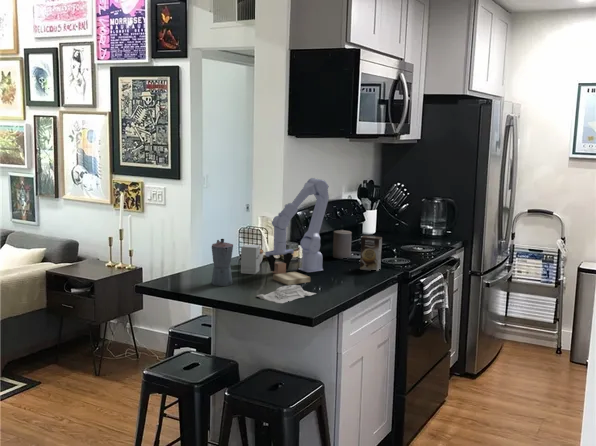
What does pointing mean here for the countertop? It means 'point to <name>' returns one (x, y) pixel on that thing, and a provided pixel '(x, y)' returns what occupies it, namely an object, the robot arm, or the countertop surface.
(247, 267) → the supplement box
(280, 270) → the block
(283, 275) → the base
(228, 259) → the moka pot
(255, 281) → the countertop surface
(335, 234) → the pillar candle
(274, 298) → the terrain model
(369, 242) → the coffee box
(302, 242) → the robot arm
